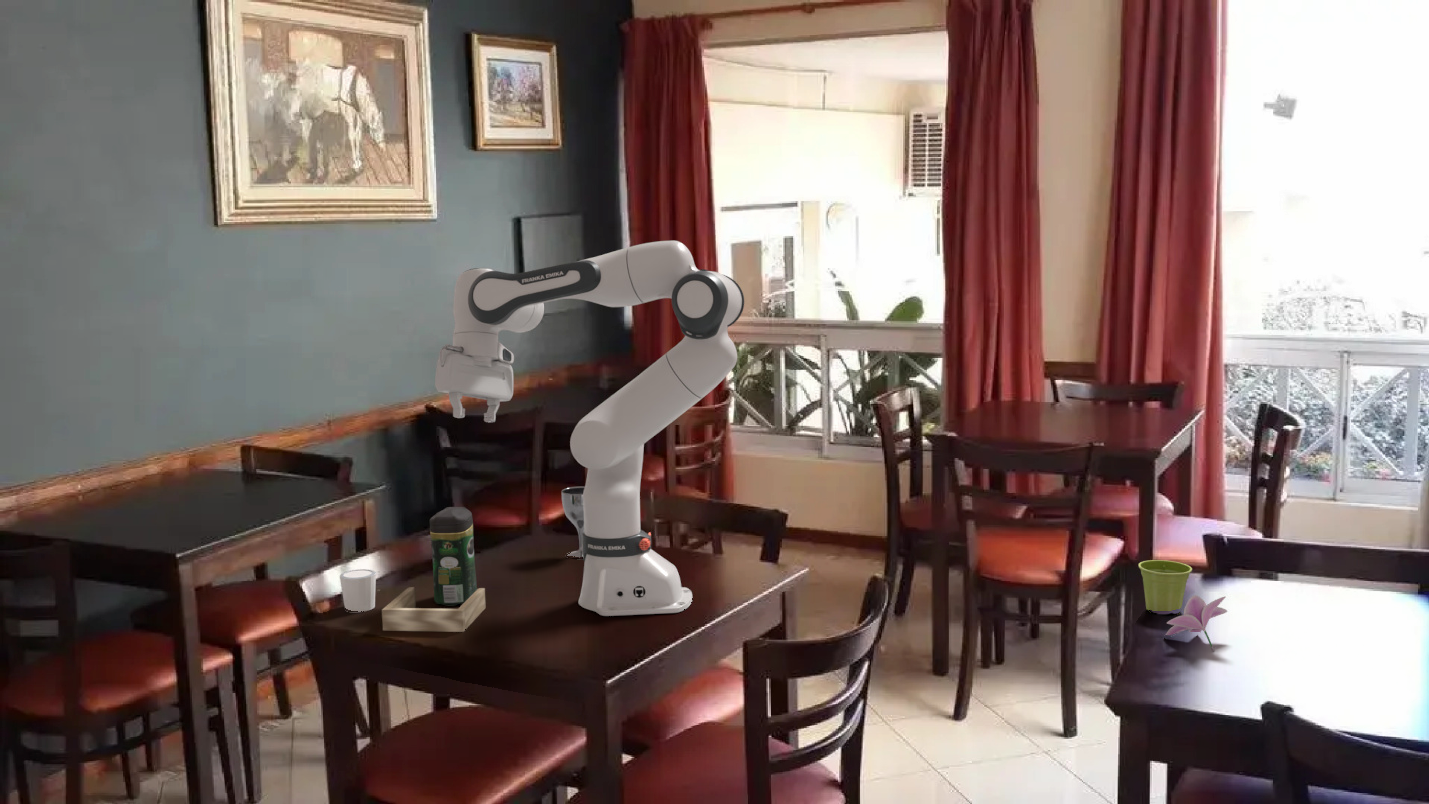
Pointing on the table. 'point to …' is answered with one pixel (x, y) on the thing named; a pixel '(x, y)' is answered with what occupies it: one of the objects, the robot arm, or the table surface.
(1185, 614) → the lily
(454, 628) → the bay
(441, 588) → the coffee jar
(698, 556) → the table surface
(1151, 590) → the plant pot
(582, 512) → the wine glass
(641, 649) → the table surface
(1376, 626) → the table surface
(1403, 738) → the table surface
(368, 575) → the white cup
